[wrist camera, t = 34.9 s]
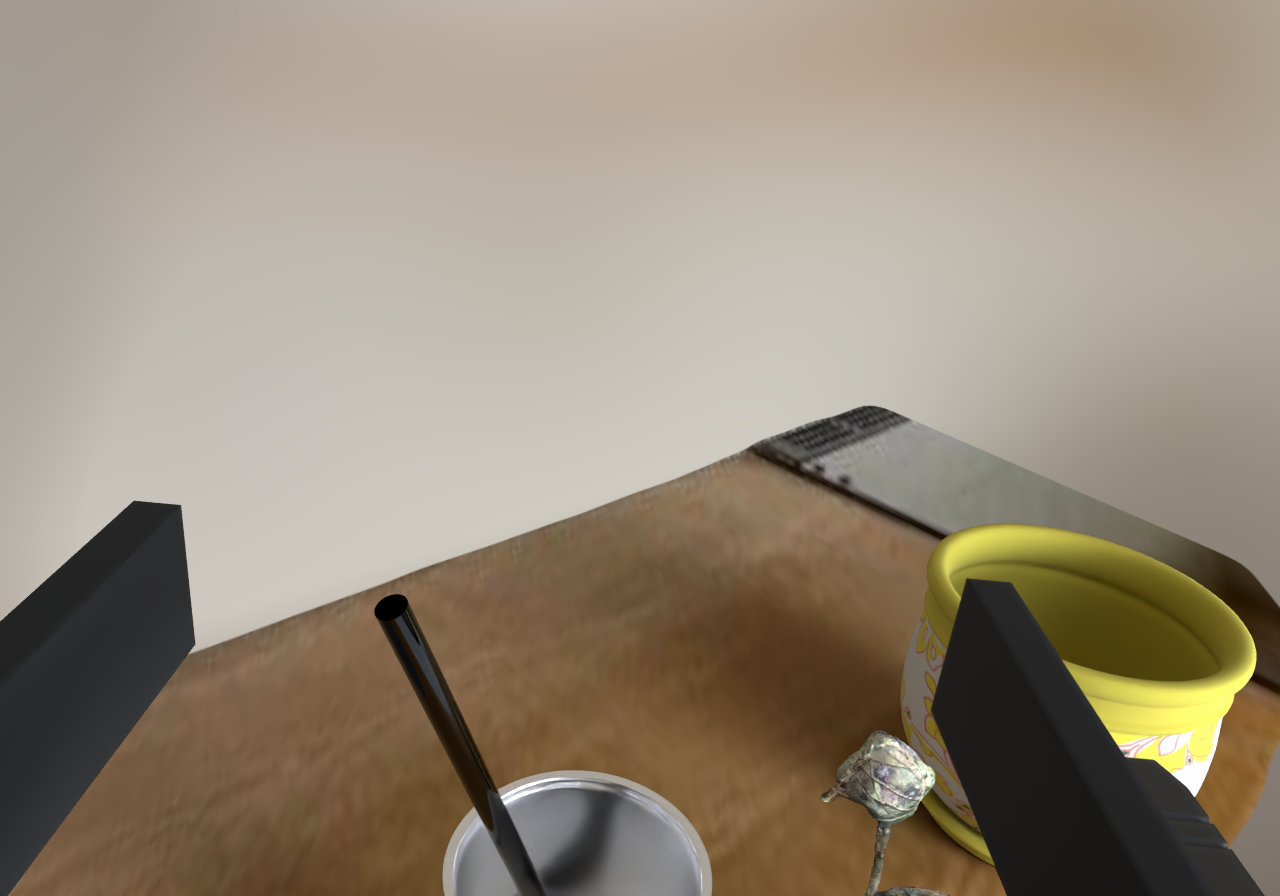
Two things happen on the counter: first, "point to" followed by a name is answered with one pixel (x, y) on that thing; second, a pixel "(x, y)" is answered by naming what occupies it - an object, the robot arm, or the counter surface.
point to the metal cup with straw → (546, 811)
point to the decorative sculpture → (885, 794)
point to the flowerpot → (1086, 650)
